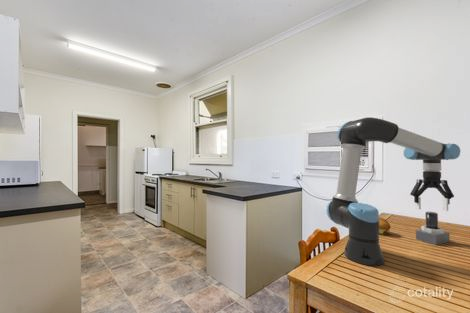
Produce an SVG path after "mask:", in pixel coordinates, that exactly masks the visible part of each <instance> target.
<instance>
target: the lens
mask: <svg viewBox="0 0 470 313" xmlns="http://www.w3.org/2000/svg"><path fill="white" fill-rule="evenodd" d="M438 216H439V214H438V212H435V211H426V212H425V225H426V228H430V229H436V230H439V229H438V227H439V217H438Z"/></svg>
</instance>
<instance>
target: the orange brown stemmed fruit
mask: <svg viewBox="0 0 470 313" xmlns="http://www.w3.org/2000/svg"><path fill="white" fill-rule="evenodd" d="M390 232H391V224H390V223H389V221H388V220H386V218H384V217H379V235H388V234H389V233H390Z"/></svg>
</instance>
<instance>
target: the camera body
mask: <svg viewBox="0 0 470 313" xmlns="http://www.w3.org/2000/svg"><path fill="white" fill-rule="evenodd" d="M438 229H439V230H436V229H430V228H426V224H424V225H421V229H417V230H415V239H416V240H417V241H421V242H424V243H427V244H431V245H434V246H437V245H441V244H446V243H450V240H451V239H450V232H449V231H445V230H444V229H443V227H439V226H438Z"/></svg>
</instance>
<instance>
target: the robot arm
mask: <svg viewBox="0 0 470 313" xmlns="http://www.w3.org/2000/svg"><path fill="white" fill-rule="evenodd" d="M337 139H338V141H339V143H340V147H341V148H342V153H341V159H340V160H341V161H340V166H339V167H340V169H339V174H338V181H337V186H336V188H337V189H336V193H335V194H334V195H333V196H332V199H331V201H329V202H328V204H327V206H326V214H327V217H328V219H329V220H330V221H332V223H334V224H336V225H340V226H342V227H344V228H347V229H348V240H347V242H346V244H345V247H344V256H345V258H347V259H348V260H350V261H352V262H355V263H357V264H360V265H365V266H374V265H377V266H382V265H384V263H385V256H384V254H383V251H382V248H381V245H380V234H379V218H380V216H379V210H378V208H376V207H375V206H373V205H371V204H367V203H364V202H359V201H358V199H357V198H356V193H357V185H358V179H359V171H360V165H361V158H362V151H363V150H364V149H366V147H367V143H369V142H380V143H384V144H390V143H391V144H393V145H397V146H400V147H403V157H404V158H405V159H407V160H412V161H413V160H414V161H417V160H418V161H419V160H420V161H421V160H422V170H423V171H422V178H423V179H419V178H417V179H416V183H415V185H414V187H413V188H412V190H411V192H410V194H409V196H412V197H413V198H414V200H413V201H414V203H415V209H417V210H421V209H422V208H421V205H422V204H421V202H422V201H421V197H420V196H421V195H422V194H423V193H425V191H427V189H431V188H432V189H436V190H437V191H438V192H439V193H440V194H441V195H442V196H443V197H442V211H447V212H449V205H450V200H451V199H452V198H455V195H454V193H453V192H452V190H451V187H450V186H449V183H448V180H446V179H441V178H442V172H441V171H442V160H443V161H445V160H446V161H448V160H449V161H450V160H456V159H458V158H459V157H460V156H461V148H460V146H459V145H458V144H457V143H443V142H441V141H437V140H434V139H431V138H428V137H426V136H423V135H421V134H417V133H416V132H413V131H409V130H407V129H403V128H401V127H400V126H398V124H396V123H394V122H391V121H388V120H385V119H382V118H377V117H362V118H360V119H355V120H350V121H348V122H345V123H343V124H341V126H340V127H339V128H338V130H337Z"/></svg>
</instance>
